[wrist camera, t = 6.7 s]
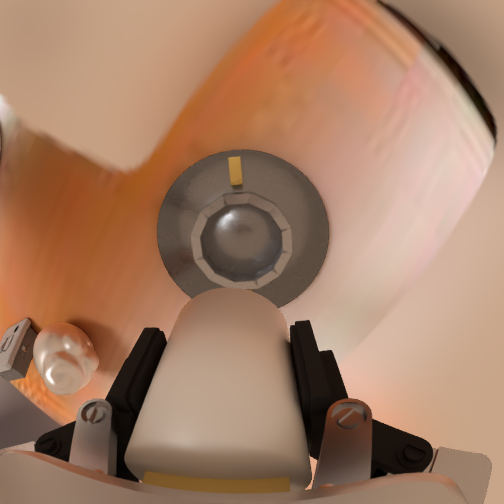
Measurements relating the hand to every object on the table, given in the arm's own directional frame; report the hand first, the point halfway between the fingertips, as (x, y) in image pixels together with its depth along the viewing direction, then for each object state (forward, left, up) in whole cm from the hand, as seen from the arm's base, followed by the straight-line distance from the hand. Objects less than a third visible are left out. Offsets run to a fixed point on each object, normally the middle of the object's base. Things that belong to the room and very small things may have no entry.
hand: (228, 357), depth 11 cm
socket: (0, 0, -17) cm, 17 cm away
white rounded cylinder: (0, 0, -1) cm, 1 cm away
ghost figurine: (+12, -23, -17) cm, 31 cm away
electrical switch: (+13, -36, -17) cm, 42 cm away
